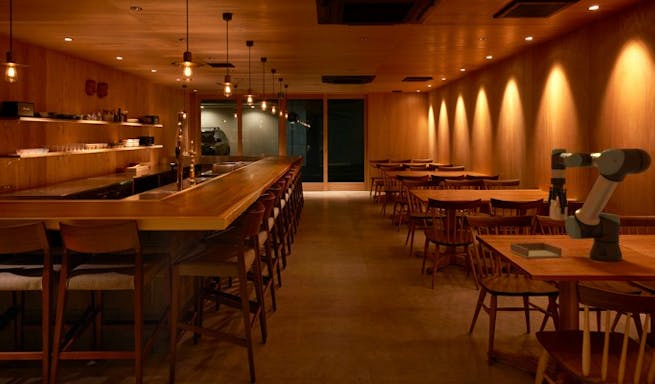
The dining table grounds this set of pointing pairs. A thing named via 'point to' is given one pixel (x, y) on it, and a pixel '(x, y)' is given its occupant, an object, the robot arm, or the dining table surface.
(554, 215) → the mug
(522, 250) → the shallow square tray
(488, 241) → the dining table surface
